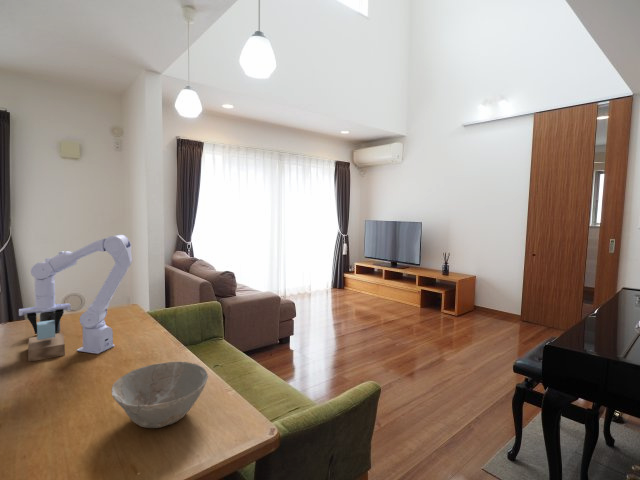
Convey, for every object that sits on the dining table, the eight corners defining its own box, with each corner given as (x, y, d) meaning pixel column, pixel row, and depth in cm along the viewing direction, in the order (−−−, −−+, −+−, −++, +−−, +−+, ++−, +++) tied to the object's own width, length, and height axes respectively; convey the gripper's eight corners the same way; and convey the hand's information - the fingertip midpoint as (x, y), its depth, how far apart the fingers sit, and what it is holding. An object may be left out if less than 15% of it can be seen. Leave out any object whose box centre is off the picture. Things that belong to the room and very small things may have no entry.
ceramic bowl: (179, 386, 104) (179, 354, 103) (224, 416, 90) (225, 379, 89) (96, 418, 87) (96, 380, 86) (136, 462, 72) (135, 417, 72)
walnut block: (63, 342, 134) (62, 332, 133) (64, 354, 123) (64, 344, 122) (29, 348, 127) (29, 337, 127) (28, 361, 116) (27, 350, 116)
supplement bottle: (51, 336, 140) (51, 307, 139) (35, 335, 140) (34, 306, 139) (64, 330, 147) (64, 303, 146) (49, 329, 147) (48, 302, 146)
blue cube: (54, 332, 128) (54, 319, 127) (55, 337, 124) (54, 323, 123) (37, 335, 125) (37, 322, 124) (37, 339, 121) (36, 326, 120)
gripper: (17, 299, 116) (19, 338, 117) (70, 294, 125) (71, 330, 126) (18, 295, 121) (20, 332, 122) (69, 290, 130) (70, 325, 131)
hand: (46, 331), depth 124 cm, fingers closed on blue cube, 5 cm apart
